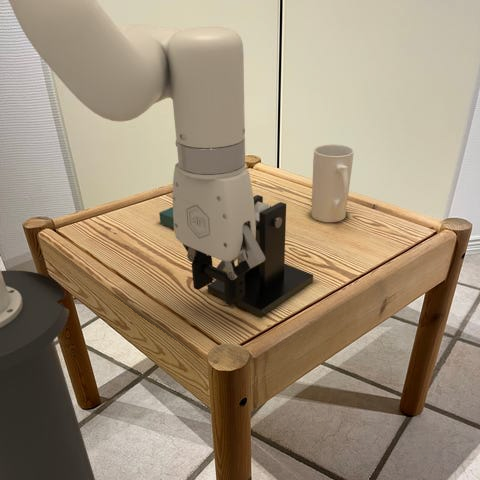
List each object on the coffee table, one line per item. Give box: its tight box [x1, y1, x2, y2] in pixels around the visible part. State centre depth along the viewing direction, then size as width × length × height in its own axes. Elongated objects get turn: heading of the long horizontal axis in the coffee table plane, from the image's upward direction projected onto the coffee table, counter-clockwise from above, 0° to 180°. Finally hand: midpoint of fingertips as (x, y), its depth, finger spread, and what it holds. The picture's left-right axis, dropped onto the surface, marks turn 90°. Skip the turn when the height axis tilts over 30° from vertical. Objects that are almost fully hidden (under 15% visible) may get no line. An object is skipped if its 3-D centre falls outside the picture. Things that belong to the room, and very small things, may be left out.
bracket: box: [207, 194, 314, 318], centre depth 71 cm, size 12×10×13 cm
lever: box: [201, 201, 272, 283], centre depth 67 cm, size 12×5×2 cm, turn 139°
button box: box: [158, 206, 174, 229], centre depth 93 cm, size 12×10×4 cm
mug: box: [310, 143, 355, 223], centre depth 90 cm, size 10×7×12 cm, turn 12°
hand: (219, 291), depth 68 cm, fingers closed on lever, 5 cm apart
